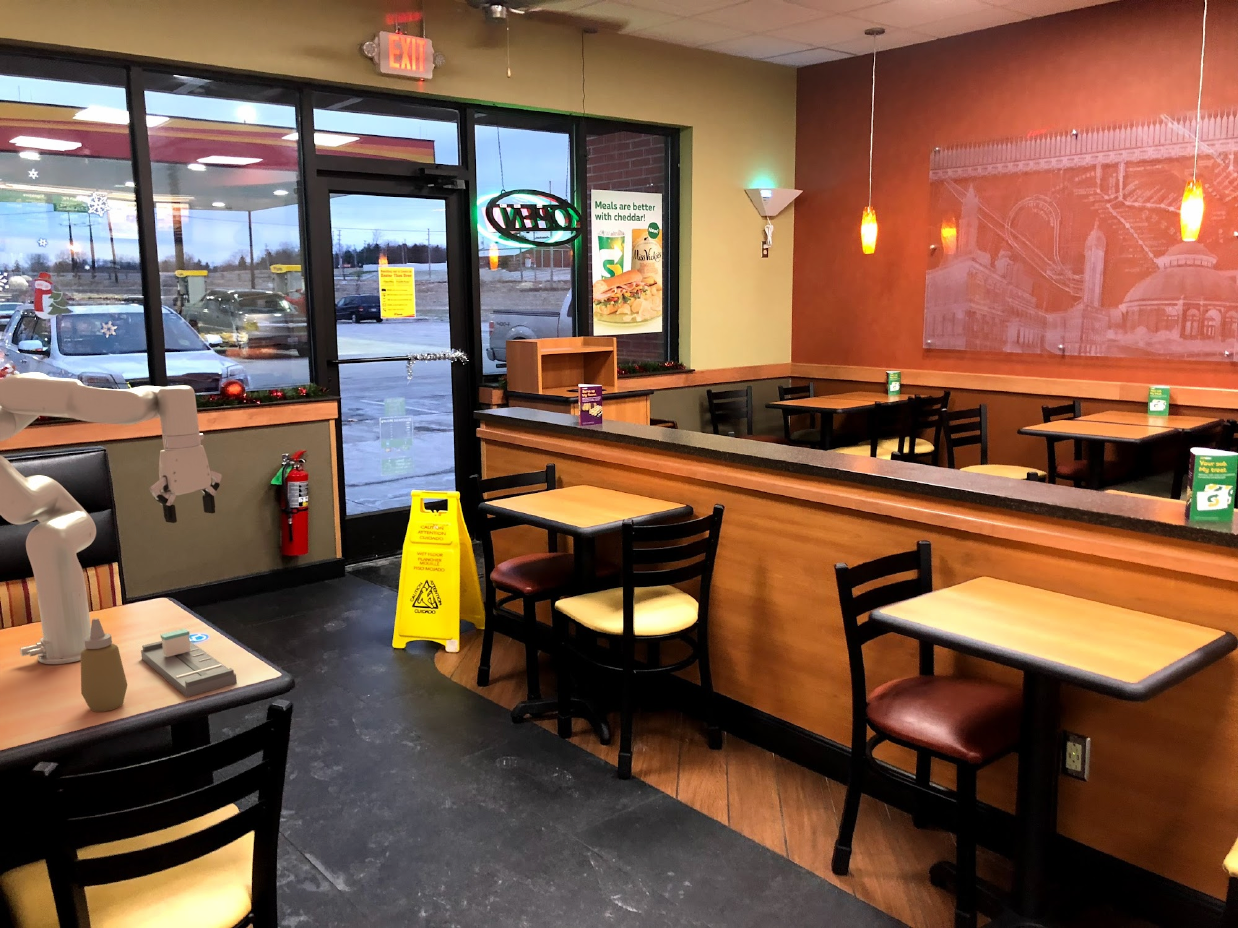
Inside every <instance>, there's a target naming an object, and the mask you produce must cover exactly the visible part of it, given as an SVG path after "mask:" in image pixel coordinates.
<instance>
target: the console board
mask: <svg viewBox="0 0 1238 928" xmlns="http://www.w3.org/2000/svg"><path fill="white" fill-rule="evenodd" d="M190 648H191V651H188V652H185V653H181V654H177V655H173V656H169V657H166V656H165V655H164V654H163V646H162V640H159V641H155V642H151V643H148V644H143V645H142V650H140V654H141V656H140V657H141V660H143V661H144V662H145V663H146V664H147V665H149V666H150V668H152V669H153V670H154V671H156V672H157V673H158V674H159V675H160V676H161V677H163V678H164V679H165V680H166V681H167V682H168V683H169V684H171V685H172V686H173V687H174V688H176V689H177V690H178V691H179V692H180V693H181V694H182V695H184V697H186V698H190V697H192V696H196V695H199V694H200V695H201V694H203V693H207V692H210V691H214V690H218V689H222V688H224V687H228V686H232V685H235V684H237V683H238V682H237V674H236V673H235V672H234V669H233V668H231V667H230V668H228V667H227V666H226V665H224V664H223V663H222V662H220V661H218V660H217V659H216V658H214V657H213V656H211V655H210V654H209V653H207V651H205V650H203V649H202V648H200V647H199V646H198V645H197V644H195V643H194V642H192V641H191V640H190ZM231 684H232V685H231Z"/></svg>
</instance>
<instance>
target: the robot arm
mask: <svg viewBox="0 0 1238 928" xmlns="http://www.w3.org/2000/svg"><path fill="white" fill-rule="evenodd" d="M40 416H43V417H57V418H68V419H69V418H70V419H73V420H77V421H79V420H80V421H85V422H89V423H97V424H108V425H121V426H122V425H125V426H127V425H128V426H131V425H136V424H140V423H142V422H146V421H149V420H150V421H151V420H153V419H157V418H158V419H160V426H161V427H160V428H161V435H162V436H161V437H162V444H163V449H162V450H160V452H159V464H158V477H159V480H157V481H156V482H155V483H154V484H152V485H151V486H150V487H149V489H148V491H149V492H150V493H151V495H152V497H153V498H154V500H156V501H157V502H158V503H159V504H160V505H161V506H162V511H163V517H164V520H165V522H166V523H169V524H175V523H177V521H178V519H177V518H178V517H177V512H176V511H177V510H176V505H175V504H173V503H174V501H175V499H176V497H177V496H182V495H184V494H185V495H186V494H190V493H194V492H199V491H201V492H202V493H203V495H202V505H203V511H204V513H206V514H216V502H215V496H216V495H217V491H218V489H219V488H220V484H221V482H222V481H221V480H222V478H223V475H222V473H219V472H216V471H214V470H211V469H210V465H209V460H208V456H207V452H206V451H205V450H206V449H205V447H204V445H203V444H202V441H201V440H204V438H205V435H204V434H203V433H200V426H199V418H198V410H197V401H196V394H195V390H194V388H193V387H192V386H190V385H182V384H181V385H170V386H154V385H140V386H135V387H132V388H126V389H117V388H116V389H115V388H114V389H112V388H102V387H94V386H93V387H92V386H88V385H85V384H83V382H82V381H80V380H79V379H77V378H76V379H75V378H66V377H65V378H64V377H63V378H62V377H51V376H49V375H47V374H45V373H42V372H37V371H34V372H33V371H31V372H24V373H18V374H12V375H8V376H5V377H4V378H3V379H1V380H0V442H4V441H7V440H8V439H12V438H13V437H14V436H16V435H17V434H19V433H20V432H22V431H23V430H24V429H25V428H26V427H28V426H29V425H30V424H32V423H33V422H34V421H35V420H36V419H38V418H39V417H40ZM201 444H202V445H201ZM0 516H1V517H2V518H3V519H4V520H6V521H7V522H8V523H10V524H13V525H25V524H28V523H31V522H33V521H36V520H37V521H38V522H39V523H38V524H36V525H35V526H34V527H33V528H31V530H30V531H29V532H28V535H27V536H26V540H25V548H26V549H25V550H26V553H27V556H28V560H29V562H30V565H31V568H32V572H33V576H34V581H35V589H36V595H37V601H38V602H37V603H38V607H39V614H40V615H39V616H40V623H41V629H42V631H41V632H42V636H43V637H40V638H39V640H40V641H39V642H35V644H33V645H27V646H23V647H20V648H19V649H20V651H19V652H20V655H21V657H24V656H29V657H34V656H37V659H38V662H39V663H41V664H46V665H63V664H69V663H75V662H79V661H80V662H81V652H82V651H83V650H84V649H85V648H86V647H85V641H84V640H85V639H86V638H87V637H89V636H90V633H91V625H92V623H91V617H90V610H89V602H88V594H87V589H86V588H87V587H86V581H85V575H84V570H83V567H82V565H81V563H80V562H79V561H80V560H79V559H78V556H77V553H79V552H82V551H83V550H85V549H87V547H89V546H90V545H92V543H93V542H94V540H95V539H96V537H97V527H96V524H95V521H94V520H93V518H92V516H91V515H90V514H89V512H87V510H86V509H84V507H83V506H82V505H81V504H80V503H79V502H78V501H77V500H76V499H75V498H74V497H73V496H72V494H70V493H69V492H68V490H66V488H64V487H63V485H62V484H60V483H59V482H58V481H57V480H55V479H53V478H52V477H50V476H45V475H42V474H41V475H40V474H39V475H38V474H37V475H30V476H27V477H25V476H24V475H23V474H21V473H20V472H19V470H17V469H16V468H15V467H14V465H12V462H10V461H9V460H8V459H7V458H6V457H4V456H3V455H1V454H0Z"/></svg>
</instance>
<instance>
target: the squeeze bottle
mask: <svg viewBox="0 0 1238 928" xmlns="http://www.w3.org/2000/svg"><path fill="white" fill-rule="evenodd" d="M84 641H85V647H86V648H85V649H84V650H83V651H82V652H81V660H80V682H81V683H80V691H81V692H80V693H81V696H82V697H83V699H84V700H85V703H86V704H87V706H88V709H89V710H90V711H91V712H94V713H96V712H97V713H102V712H108V711H111V710H115V709H117V708H120V707H121V706H122V705H123V703H124V701H125V697H126V692H127V689H128V681H127V677H126V674H125V670H124V669H125V668H124V665H123V662H122V661H123V660H122V658H121V653H120V649H119V647H118V645H117V644H115V643H113V639H112V634H110V633H105V631H104V627H103V626H102V624H101V621H100V619H99V618H92V620H91V633H90V636H89V637H87V638H86V639H85V640H84Z"/></svg>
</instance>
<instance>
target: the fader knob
mask: <svg viewBox="0 0 1238 928" xmlns="http://www.w3.org/2000/svg"><path fill="white" fill-rule="evenodd" d="M160 638H161V641H162V646H163V654H164V655H165V656H166V657H169V656H173V655H177V654H181V653H185V652H188V651H191V648H190V641H191V639H190V631H189V630H188V629H187V628H183V629H178V630H173V631H169V632H164V633H162V634H161V633H160Z"/></svg>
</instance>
